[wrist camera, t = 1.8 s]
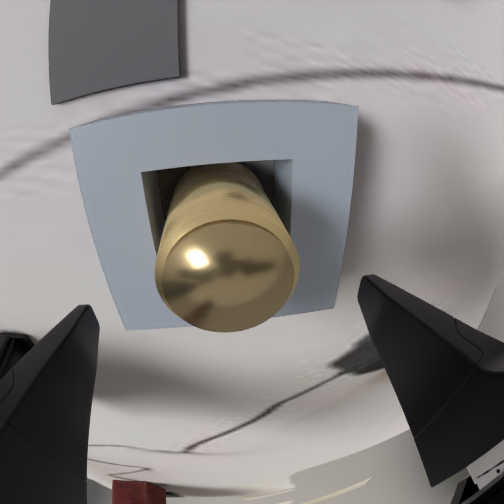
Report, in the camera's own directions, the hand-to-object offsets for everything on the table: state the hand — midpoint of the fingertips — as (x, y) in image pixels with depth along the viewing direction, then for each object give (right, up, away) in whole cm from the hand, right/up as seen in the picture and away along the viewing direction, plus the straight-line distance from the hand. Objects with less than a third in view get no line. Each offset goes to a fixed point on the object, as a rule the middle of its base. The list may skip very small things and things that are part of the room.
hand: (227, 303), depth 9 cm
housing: (-1, +4, +7) cm, 8 cm away
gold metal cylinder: (-1, +4, +7) cm, 8 cm away
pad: (-6, +13, +1) cm, 14 cm away
